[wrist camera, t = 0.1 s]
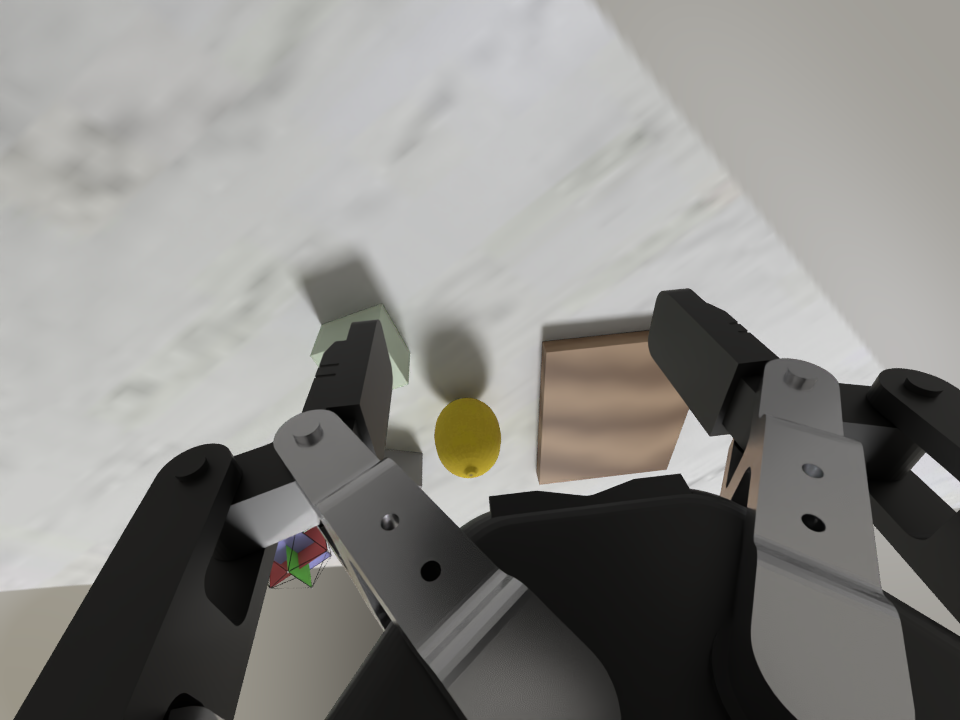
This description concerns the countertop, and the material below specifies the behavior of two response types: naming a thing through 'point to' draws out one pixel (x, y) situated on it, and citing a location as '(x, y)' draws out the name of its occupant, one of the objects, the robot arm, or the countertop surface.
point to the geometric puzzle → (299, 556)
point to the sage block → (394, 342)
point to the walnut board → (604, 409)
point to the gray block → (408, 463)
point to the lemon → (467, 437)
